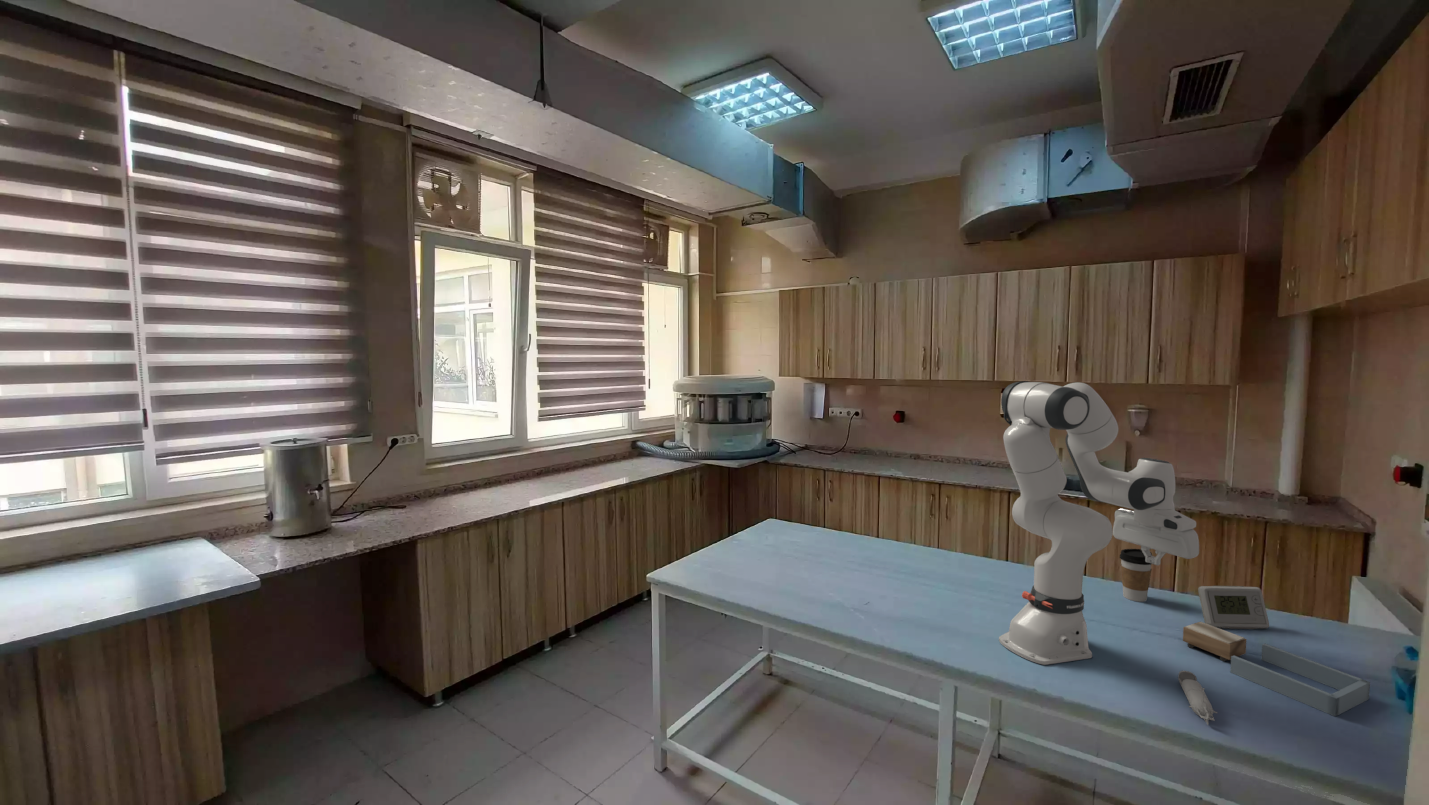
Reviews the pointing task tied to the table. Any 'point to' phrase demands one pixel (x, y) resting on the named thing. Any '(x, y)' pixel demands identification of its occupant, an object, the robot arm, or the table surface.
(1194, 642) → the tan block
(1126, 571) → the coffee cup
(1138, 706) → the table surface
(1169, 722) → the table surface
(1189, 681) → the torpedo
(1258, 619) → the digital clock
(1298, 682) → the bay
